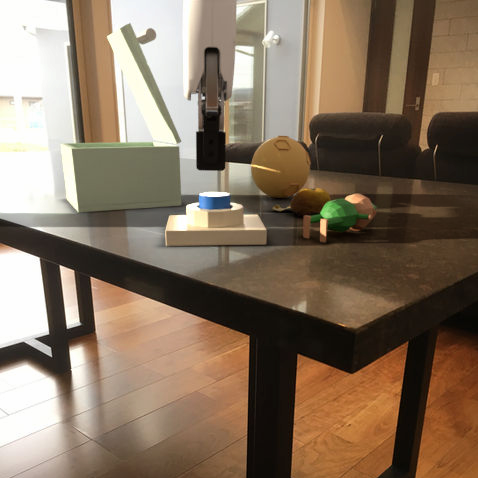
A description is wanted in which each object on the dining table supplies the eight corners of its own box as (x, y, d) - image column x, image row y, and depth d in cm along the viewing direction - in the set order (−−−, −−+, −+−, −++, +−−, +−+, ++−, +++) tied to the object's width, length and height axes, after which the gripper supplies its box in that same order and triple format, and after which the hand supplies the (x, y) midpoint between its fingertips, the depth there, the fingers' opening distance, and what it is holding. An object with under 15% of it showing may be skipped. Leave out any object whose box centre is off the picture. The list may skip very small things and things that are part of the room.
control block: (165, 246, 56) (164, 213, 55) (169, 228, 65) (168, 200, 63) (266, 244, 57) (267, 212, 56) (257, 227, 65) (258, 199, 64)
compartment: (78, 212, 75) (71, 148, 71) (66, 199, 85) (60, 143, 82) (181, 205, 81) (179, 146, 77) (158, 194, 91) (156, 141, 88)
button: (199, 212, 58) (198, 196, 57) (199, 207, 61) (198, 191, 61) (231, 212, 58) (231, 196, 57) (229, 206, 61) (229, 191, 61)
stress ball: (259, 203, 83) (260, 137, 79) (244, 194, 92) (245, 134, 88) (317, 201, 85) (321, 136, 81) (297, 192, 94) (300, 134, 90)
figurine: (292, 236, 62) (354, 222, 69) (338, 245, 57) (400, 229, 64) (292, 198, 60) (356, 187, 67) (340, 204, 55) (403, 192, 62)
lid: (125, 25, 69) (156, 11, 70) (106, 36, 80) (134, 24, 81) (177, 144, 77) (204, 130, 78) (153, 139, 88) (178, 127, 89)
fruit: (317, 206, 80) (319, 182, 79) (347, 216, 73) (349, 189, 71) (269, 210, 77) (269, 185, 76) (295, 220, 70) (296, 192, 69)
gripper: (175, -9, 58) (179, 162, 65) (169, -45, 44) (174, 177, 51) (242, -6, 58) (239, 163, 65) (256, -41, 45) (250, 178, 51)
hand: (210, 169), depth 58 cm, fingers closed
